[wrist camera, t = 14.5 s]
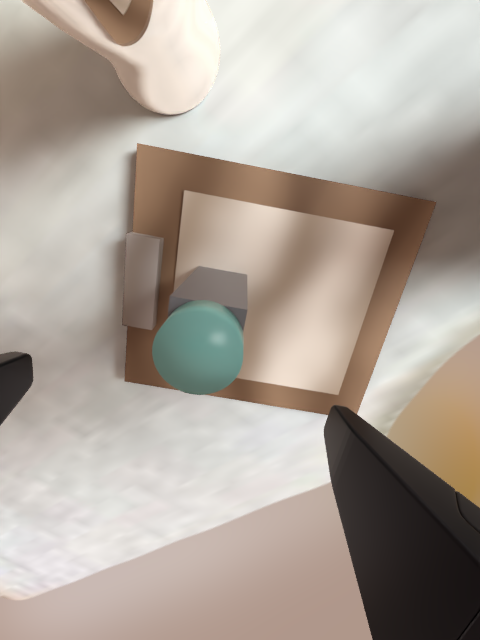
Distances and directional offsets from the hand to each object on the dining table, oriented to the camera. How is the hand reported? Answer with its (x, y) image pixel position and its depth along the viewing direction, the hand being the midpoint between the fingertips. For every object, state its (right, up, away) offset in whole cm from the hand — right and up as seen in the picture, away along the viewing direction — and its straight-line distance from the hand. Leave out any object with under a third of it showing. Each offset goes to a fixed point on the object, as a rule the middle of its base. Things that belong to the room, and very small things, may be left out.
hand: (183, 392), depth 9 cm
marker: (0, +4, +11) cm, 12 cm away
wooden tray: (+3, +4, +12) cm, 13 cm away
